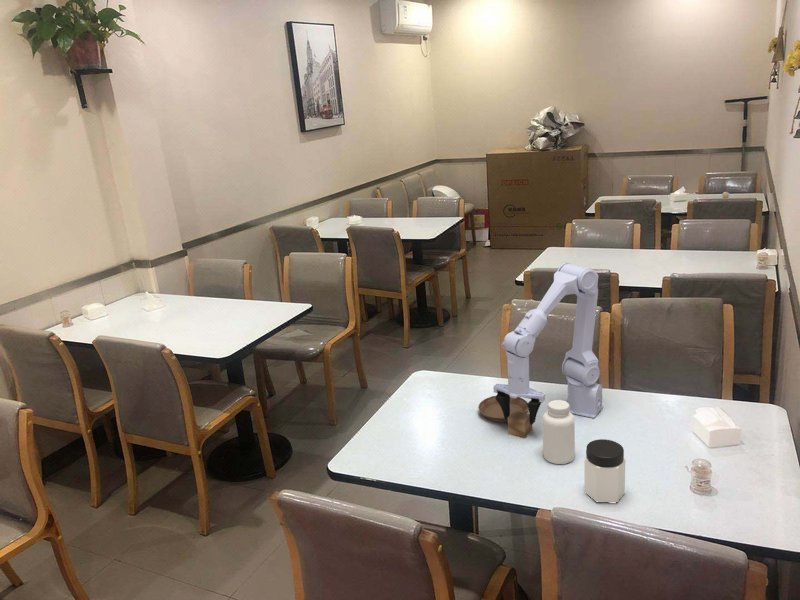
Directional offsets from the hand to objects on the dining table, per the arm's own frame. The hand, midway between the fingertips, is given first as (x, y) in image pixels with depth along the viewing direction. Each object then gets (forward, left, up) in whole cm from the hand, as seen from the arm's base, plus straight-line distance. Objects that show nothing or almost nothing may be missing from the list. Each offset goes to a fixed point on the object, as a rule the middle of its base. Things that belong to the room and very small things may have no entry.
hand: (519, 419), depth 175 cm
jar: (-29, +17, -4) cm, 34 cm away
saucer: (+9, -8, -4) cm, 13 cm away
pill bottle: (-14, +7, -4) cm, 16 cm away
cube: (0, 0, -4) cm, 4 cm away
